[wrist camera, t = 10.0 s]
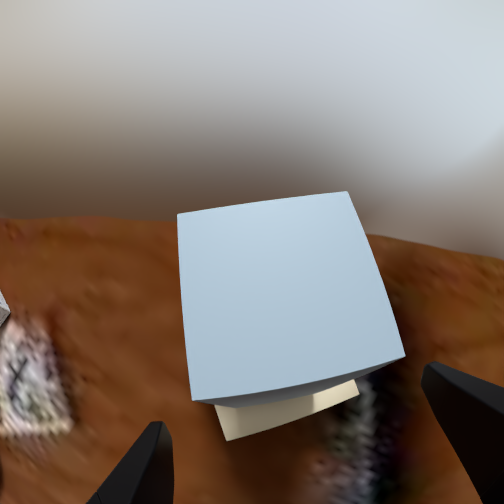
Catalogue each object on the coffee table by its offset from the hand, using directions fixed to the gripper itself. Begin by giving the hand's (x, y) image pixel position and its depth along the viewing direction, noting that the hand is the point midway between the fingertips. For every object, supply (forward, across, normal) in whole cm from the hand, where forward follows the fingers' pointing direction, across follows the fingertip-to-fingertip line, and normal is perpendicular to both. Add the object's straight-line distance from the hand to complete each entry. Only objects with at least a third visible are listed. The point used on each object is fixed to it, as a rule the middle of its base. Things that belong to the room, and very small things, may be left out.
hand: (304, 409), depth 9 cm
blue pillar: (+9, 0, +5) cm, 10 cm away
